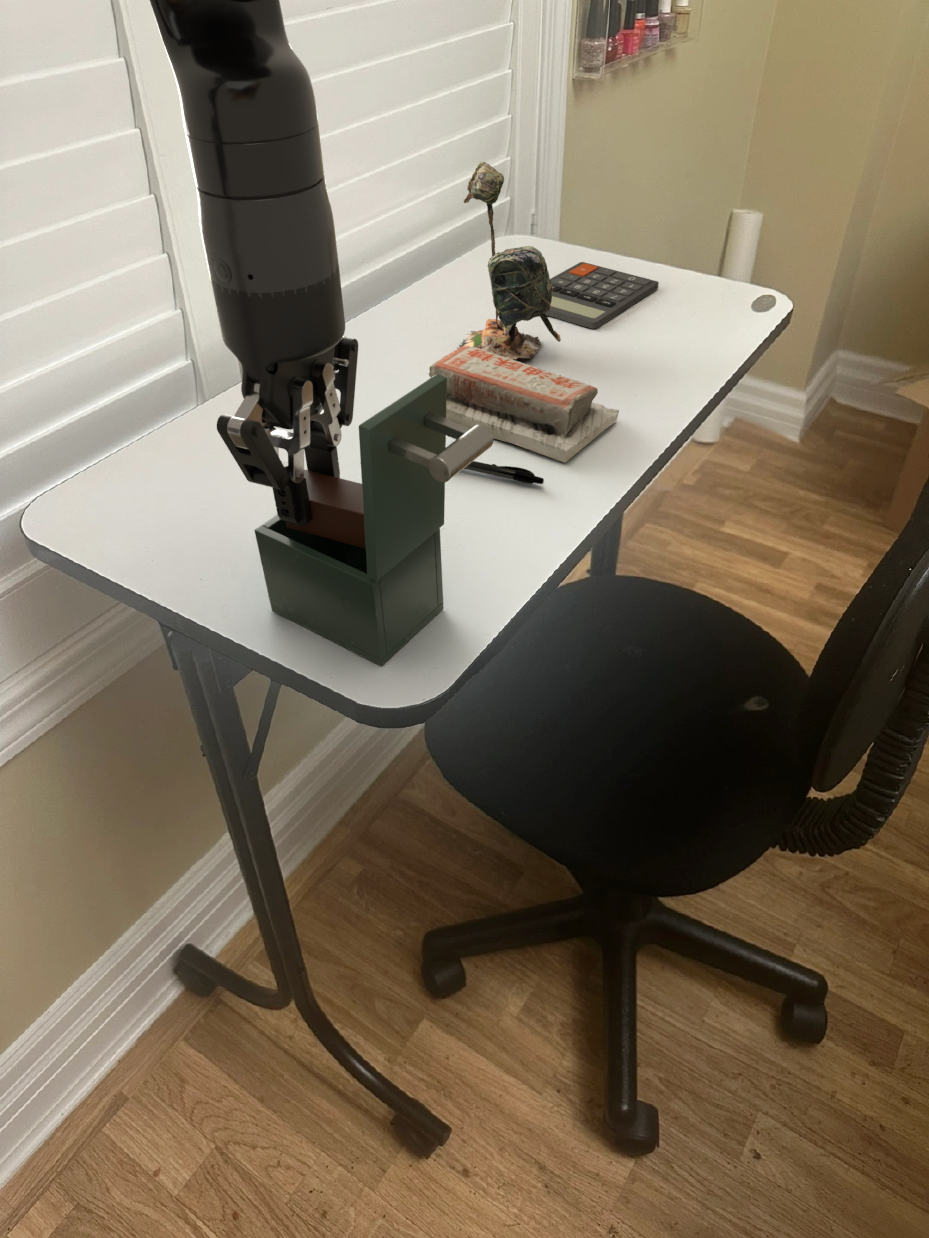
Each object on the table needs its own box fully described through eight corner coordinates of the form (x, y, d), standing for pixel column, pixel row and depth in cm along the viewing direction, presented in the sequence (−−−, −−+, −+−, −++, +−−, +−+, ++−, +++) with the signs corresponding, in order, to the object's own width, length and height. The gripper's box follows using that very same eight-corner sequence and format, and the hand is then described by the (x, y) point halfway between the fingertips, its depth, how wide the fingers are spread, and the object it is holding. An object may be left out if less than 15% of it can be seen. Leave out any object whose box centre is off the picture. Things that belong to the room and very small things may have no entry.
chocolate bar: (308, 503, 67) (303, 468, 64) (400, 527, 64) (398, 492, 62) (286, 527, 64) (280, 492, 62) (380, 553, 62) (377, 518, 60)
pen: (547, 480, 82) (547, 469, 81) (540, 490, 81) (541, 479, 80) (408, 449, 86) (408, 439, 86) (401, 458, 85) (400, 448, 84)
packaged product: (412, 367, 89) (472, 331, 95) (415, 411, 92) (473, 374, 98) (569, 420, 81) (624, 377, 86) (566, 466, 84) (619, 422, 90)
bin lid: (358, 425, 52) (434, 458, 49) (436, 373, 56) (509, 401, 54) (366, 576, 60) (432, 610, 57) (435, 520, 64) (498, 549, 62)
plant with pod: (534, 378, 97) (542, 179, 83) (447, 354, 102) (440, 161, 88) (570, 349, 102) (583, 157, 88) (485, 327, 107) (485, 141, 93)
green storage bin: (271, 610, 70) (254, 529, 64) (336, 559, 74) (325, 480, 69) (381, 666, 65) (372, 584, 60) (444, 608, 69) (440, 527, 64)
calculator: (660, 280, 113) (594, 321, 105) (659, 287, 114) (594, 329, 105) (581, 260, 119) (513, 297, 110) (581, 267, 119) (513, 305, 111)
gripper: (261, 319, 47) (306, 577, 58) (385, 230, 56) (403, 466, 68) (144, 298, 49) (209, 550, 61) (282, 216, 59) (316, 447, 70)
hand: (311, 504), depth 64 cm, fingers open, 3 cm apart
